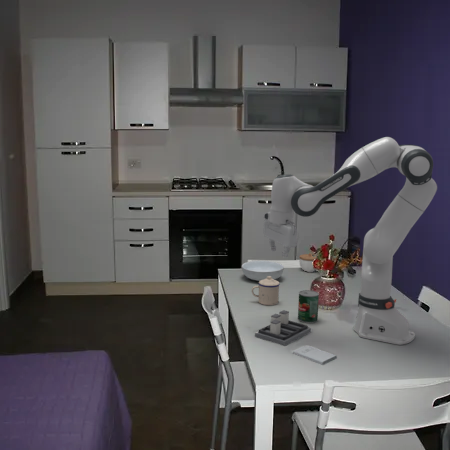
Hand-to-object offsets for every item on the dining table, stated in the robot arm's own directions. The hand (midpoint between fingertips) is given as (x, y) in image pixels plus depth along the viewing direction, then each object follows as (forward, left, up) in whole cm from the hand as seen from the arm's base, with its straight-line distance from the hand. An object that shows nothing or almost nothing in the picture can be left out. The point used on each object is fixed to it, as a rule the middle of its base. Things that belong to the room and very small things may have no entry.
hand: (278, 253), depth 215 cm
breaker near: (-4, 0, -27) cm, 27 cm away
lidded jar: (+32, -79, -29) cm, 90 cm away
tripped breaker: (-7, +11, -27) cm, 30 cm away
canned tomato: (-6, -14, -29) cm, 33 cm away
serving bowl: (+41, -49, -29) cm, 71 cm away
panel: (-7, +6, -29) cm, 30 cm away
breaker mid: (-4, +6, -27) cm, 28 cm away
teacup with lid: (+19, -20, -29) cm, 40 cm away
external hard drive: (-26, +15, -29) cm, 42 cm away
